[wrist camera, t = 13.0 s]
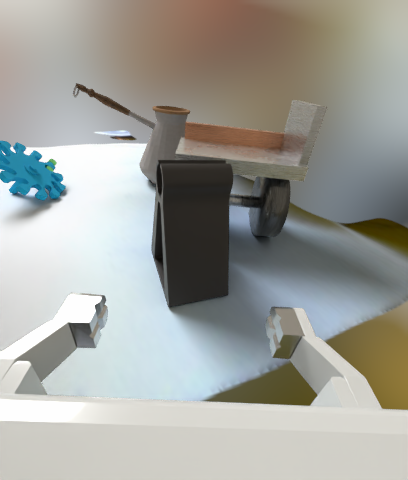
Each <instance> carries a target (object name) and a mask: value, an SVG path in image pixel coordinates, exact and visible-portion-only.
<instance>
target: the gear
mask: <svg viewBox="0 0 408 480" xmlns="http://www.w3.org/2000/svg"><path fill="white" fill-rule="evenodd" d="M10 147H11V145H10V144H9V143H8V142H6V141H0V169H2V170H5V171H1V173H0V179H1V180H2V181H3V182H4V183H9V182H11V181H16V182H15V183H14V184H13V185H12V187H11V188H10V189H9V191H10V192H11V193H13V194H16V193H17V192H20V193H21V194H23V195H26V194H27V193H28V192H29V191H30V188H36V189H37V190H38V192H37V193H36V194H35V197H36V198H37V199H40V200H45V199H46V198H47V197H48V195H47V193H46V191H45V188H46V189H47V190H48V191H49V196H50V198H52V199H57V198H58V197H59V196H60V195H61V194H60V193H61V192H62V191H63V190H64V189H65V186H64V185H63V184H61V183H60V182H61V181H62V180H63V176H62V175H61V174H59V173H54V172H53V170H54V169H55V165H56V161H55V160H53V159H50V160H49V161H48V162H47V163H43V162H39V160H40V159H41V157H42V155H41V154H40V153H38V152H37V151H33V152H32V153H31V155H29V156H28V155H25V154H24V153H23V152H24V151H25V150H26V147H25V146H24V145H22V144H19V143H16V144H15V145H14V146H13V148H14V150H15V151H16V153H14V152H12V151H11V150H10ZM1 150H2V151H3V152H4V153H5V154H6V155H4V154H3V153H2V151H1ZM53 186H54V187H55V188H54V187H53Z"/></svg>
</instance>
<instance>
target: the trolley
mask: <svg viewBox="0 0 408 480" xmlns="http://www.w3.org/2000/svg"><path fill="white" fill-rule="evenodd" d="M326 109H327V107H324V106H320V105H315V104H311V103H307V102H302V101H295V100H293V101H292V105H291V109H290V112H289V116H288V120H287V123H286V127H285V131H284V133H280V132H271V131H262V130H254V129H246V128H237V127H228V126H220V125H211V124H203V123H202V124H201V123H194V122H186V123H185V137H181V139H180V142H179V145H178V148H177V150H176V153H175V160H226V164H231V166H232V170H233V174H238V175H248V176H257V177H256V180H255V183H254V186H253V190H252V195H251V196H249V195H239V194H230V199H229V206H238V207H249V208H250V209H249V217H250V228H251V231H252V233H253V235H258V236H269V237H275V236H277V235H278V234H279V233H280V231H281V229H282V228H283V225H284V223H285V220H286V217H287V213H288V209H289V203H290V182H289V180H296V181H304V179H305V176H306V173H307V170H308V167H307V164H308V161H309V158H310V156H311V153H312V150H313V147H314V144H315V141H316V138H317V135H318V132H319V129H320V127H321V124H322V121H323V118H324V115H325V112H326Z"/></svg>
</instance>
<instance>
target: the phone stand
mask: <svg viewBox="0 0 408 480" xmlns="http://www.w3.org/2000/svg"><path fill="white" fill-rule="evenodd" d="M232 185H233V170H232V166H231V164H226V160H157V163H156V198H155V211H154V224H153V236H152V254H153V258H154V261H155V264H156V268H157V271H158V274H159V278H160V281H161V284H162V288H163V291H164V294H165V298H166V301H167V305H168V307H172V306H177V305H181V304H186V303H191V302H196V301H201V300H205V299H210V298H215V297H220V296H225V295H228V254H229V199H230V193H231V189H232Z"/></svg>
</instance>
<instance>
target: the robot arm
mask: <svg viewBox="0 0 408 480" xmlns="http://www.w3.org/2000/svg"><path fill="white" fill-rule="evenodd" d="M105 302H106V298H105V296H104V295H94V294H83V293H70V294H69V295H68V297H67V298H66V300H65V301H64V303H63V305H62V306H61V308H60V309H59V311H58V313H57V314H56V316H55V317H54V319H53V321H48V322H46V323H45V324H43V325H42V326H40V327H39V328H37V329H36V330H34V331H33V332H31V333H29V334H28V335H26V336H25V337H23V338H22V339H20V340H19V341H17V342H15V343H14V344H12V345H11V346H9V347H8V348H6V349H5V350H3V351H2V352H0V480H408V410H393V409H392V410H391V409H382V408H381V406H380V404H379V402H378V400H377V399H376V397H375V395H374V393H373V391H372V390H371V388H370V386H369V384H368V382H367V381H366V378H365V377H364V376H363V375H362V374H360V373H359V372H358V371H357V370H356V369H355V368H354V367H352V366H351V365H350V364H349V363H348V362H347V361H346V360H344V359H343V358H342V357H341V356H340V355H339V354H338V353H337V352H335V351H334V350H333V349H332V348H331V347H330V346H329V345H327V344H326V343H325V342H324V341H323V340H322V339H321V338H320V337H316V335H315V333H314V331H313V328H312V326H311V324H310V322H309V319H308V317H307V315H306V313H305V311H304V309H303V308H290V307H272V308H271V310H270V314H271V315H270V316H269V317H267V320H266V334H267V337H268V338H269V339H270V340H271V342H270V344H269V346H270V350H271V354H272V357H273V358H283V359H290V361H291V362H292V364H293V365H294V366H295V367H296V369H297V370H298V371H299V372H300V374H301V375H302V376H303V377H304V379H305V380H306V381H307V382H308V384H309V385H310V386H311V387H312V389H313V390H314V391H315V392H316V394H317V395H318V396H317V397H316V398H315V400H314V401H313V402H312V404H311V406H297V405H272V404H249V403H248V404H247V403H224V402H203V401H179V400H155V399H131V398H107V397H83V396H59V395H47V393H46V391H45V389H44V387H43V385H42V383H41V382H42V381H43V380H44V379H45V378H46V377H47V376H48V375H49V374H50V373H51V372H52V371H53V370H54V369H55V368H57V367H58V366H59V365H60V364H61V363H62V362H63V361H64V360H65V359H66V358H67V357H68V356H69V355H70V354H72V353H73V352H74V351H75V350H76V349H77V348H96V346H97V344H98V341H99V339H100V336H101V332H100V330H101V329H102V328H103V327H104V326H105V324H106V321H107V316H108V309H107V306H106V305H104V304H105Z"/></svg>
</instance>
